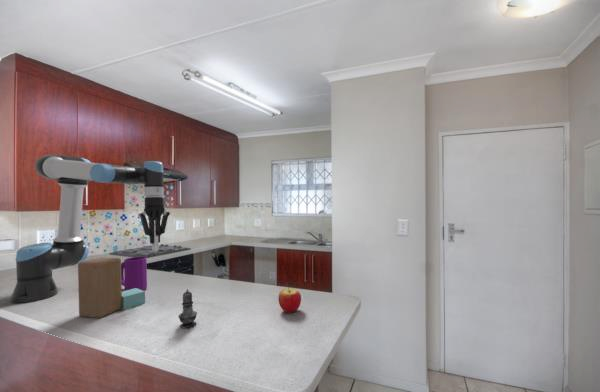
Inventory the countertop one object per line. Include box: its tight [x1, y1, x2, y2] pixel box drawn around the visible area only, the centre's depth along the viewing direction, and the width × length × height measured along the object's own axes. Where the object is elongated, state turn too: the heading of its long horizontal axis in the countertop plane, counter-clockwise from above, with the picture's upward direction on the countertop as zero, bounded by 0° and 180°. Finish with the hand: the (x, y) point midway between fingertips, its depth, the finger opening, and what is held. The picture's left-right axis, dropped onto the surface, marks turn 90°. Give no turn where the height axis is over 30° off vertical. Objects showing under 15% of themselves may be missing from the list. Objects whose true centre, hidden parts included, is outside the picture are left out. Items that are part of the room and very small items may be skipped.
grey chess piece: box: [177, 289, 198, 330], centre depth 94 cm, size 6×6×12 cm
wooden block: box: [77, 256, 123, 319], centre depth 107 cm, size 10×10×20 cm
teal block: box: [121, 288, 146, 310], centre depth 115 cm, size 8×8×5 cm
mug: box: [121, 256, 148, 291], centre depth 134 cm, size 9×16×15 cm, turn 68°
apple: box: [278, 282, 302, 313], centre depth 104 cm, size 8×8×10 cm
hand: (155, 250), depth 124 cm, fingers closed
